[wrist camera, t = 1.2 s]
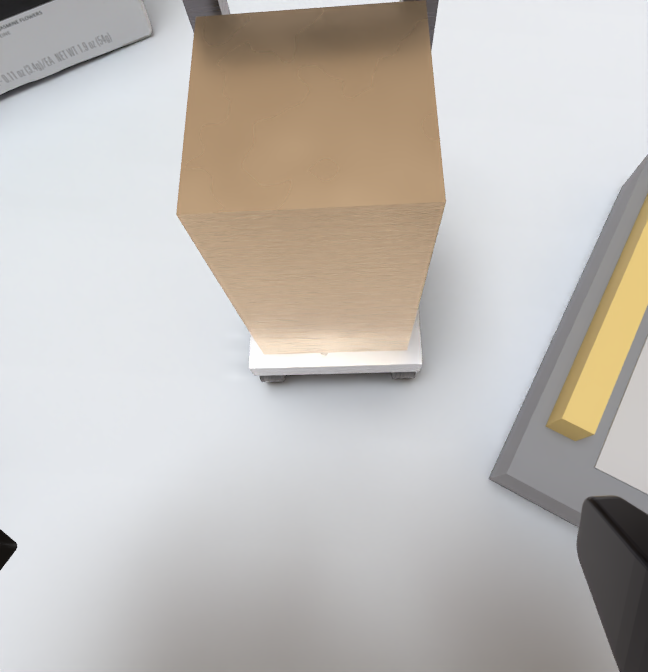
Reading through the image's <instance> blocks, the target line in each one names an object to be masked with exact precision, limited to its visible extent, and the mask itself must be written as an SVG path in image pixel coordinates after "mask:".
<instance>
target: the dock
mask: <svg viewBox="0 0 648 672" xmlns="http://www.w3.org/2000/svg"><path fill="white" fill-rule="evenodd" d="M489 479H490V480H492V481H494V482H496V483H498V484H499V485H501V486H503V487H505V488H507V489H509V490H511V491H512V492H514V493H516V494H518V495H520V496H522V497H524V498H525V499H527V500H529V501H531V502H533V503H535V504H537V505H538V506H540V507H542V508H544V509H546V510H548V511H549V512H551V513H553V514H555V515H557V516H559V517H561V518H562V519H564V520H566V521H568V522H570V523H572V524H574V525H575V526H577V527H579V523H580V516H581V509H582V504H583V502H584V500H585V499H586V498H587V497H590V496H606V495H614V496H619V497H621V498H623V499H625V500H626V501H628V502H629V503H631V504H632V505H634V506H636V507H637V508H639V509H640V510H642V511H644V512H645V513H647V514H648V155H647V156H646V157H645V159H644V160H643V161H642V162H641V164H640V165H639V166H638V167H637V169H636V170H635V171H634V173H633V174H632V175H631V176H630V178H629V179H628V180H627V181H626V183H625V184H624V185H623V186H622V188H621V190H620V192H619V195H618V197H617V199H616V201H615V203H614V206H613V208H612V210H611V212H610V214H609V217H608V219H607V221H606V223H605V225H604V227H603V230H602V232H601V234H600V236H599V238H598V241H597V243H596V245H595V247H594V249H593V252H592V254H591V256H590V258H589V260H588V263H587V265H586V267H585V269H584V271H583V273H582V276H581V278H580V280H579V282H578V284H577V287H576V289H575V291H574V293H573V295H572V298H571V300H570V302H569V304H568V306H567V308H566V311H565V313H564V315H563V317H562V319H561V322H560V324H559V326H558V328H557V330H556V333H555V335H554V337H553V339H552V341H551V344H550V346H549V348H548V350H547V352H546V354H545V357H544V359H543V361H542V363H541V365H540V368H539V370H538V372H537V374H536V376H535V379H534V381H533V383H532V385H531V387H530V389H529V392H528V394H527V396H526V398H525V400H524V403H523V405H522V407H521V409H520V411H519V414H518V416H517V418H516V420H515V422H514V425H513V427H512V429H511V431H510V433H509V435H508V438H507V440H506V442H505V444H504V446H503V449H502V451H501V453H500V455H499V457H498V460H497V462H496V464H495V466H494V468H493V470H492V473H491V475H490V477H489Z"/></svg>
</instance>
